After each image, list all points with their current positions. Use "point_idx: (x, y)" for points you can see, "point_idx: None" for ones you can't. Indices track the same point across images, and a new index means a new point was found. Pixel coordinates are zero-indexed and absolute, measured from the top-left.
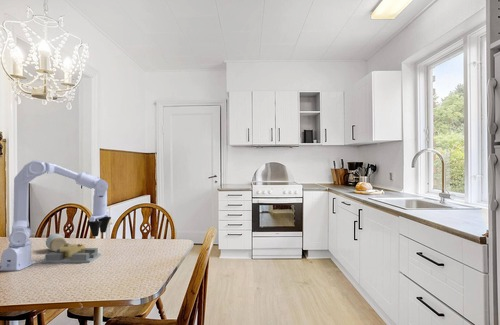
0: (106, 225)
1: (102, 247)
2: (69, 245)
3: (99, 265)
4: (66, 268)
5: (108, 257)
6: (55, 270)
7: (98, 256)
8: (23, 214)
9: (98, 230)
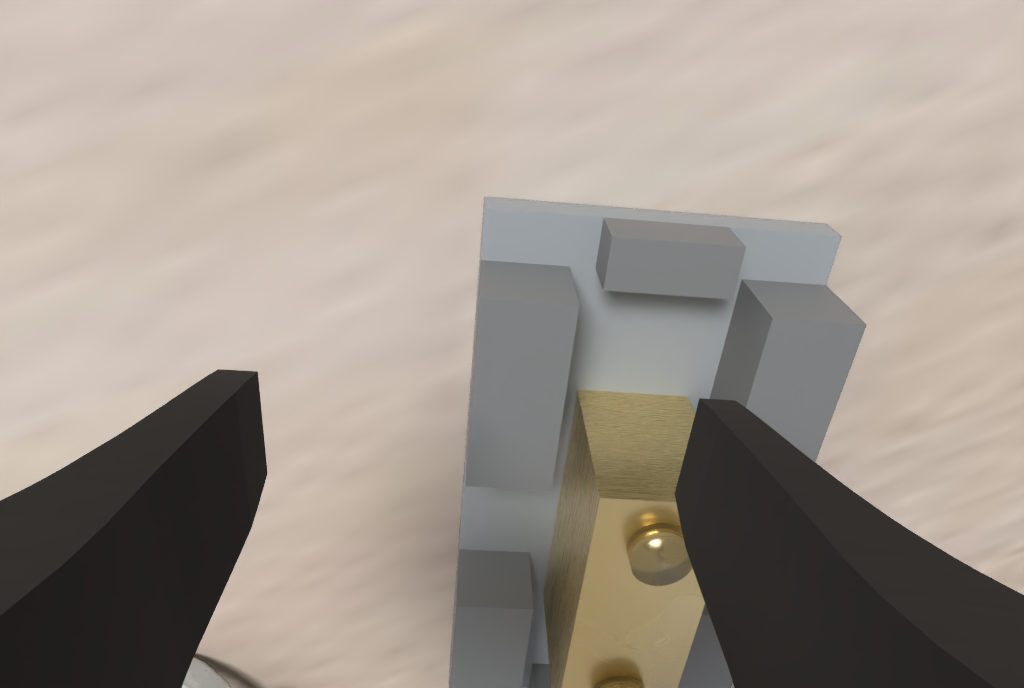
0: (151, 486)
1: (28, 337)
2: (622, 659)
3: (1019, 20)
4: (967, 399)
5: (606, 23)
6: (992, 471)
7: (564, 205)
8: None
9: (812, 481)
